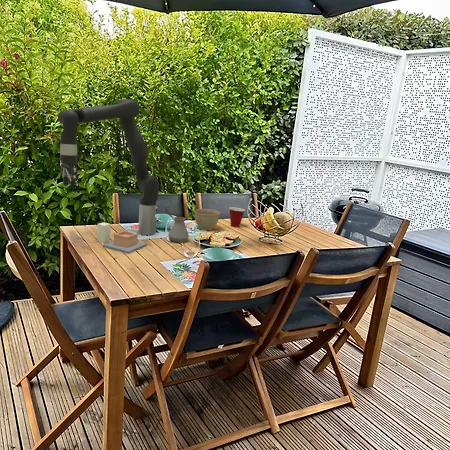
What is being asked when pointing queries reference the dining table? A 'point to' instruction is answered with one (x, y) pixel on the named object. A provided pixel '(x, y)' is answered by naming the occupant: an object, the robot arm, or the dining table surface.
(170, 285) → the dining table surface
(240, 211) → the plastic cup
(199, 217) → the planter bowl
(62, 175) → the robot arm
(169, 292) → the dining table surface
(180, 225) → the coffee pot
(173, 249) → the dining table surface
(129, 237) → the tower base
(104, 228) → the tall brick
